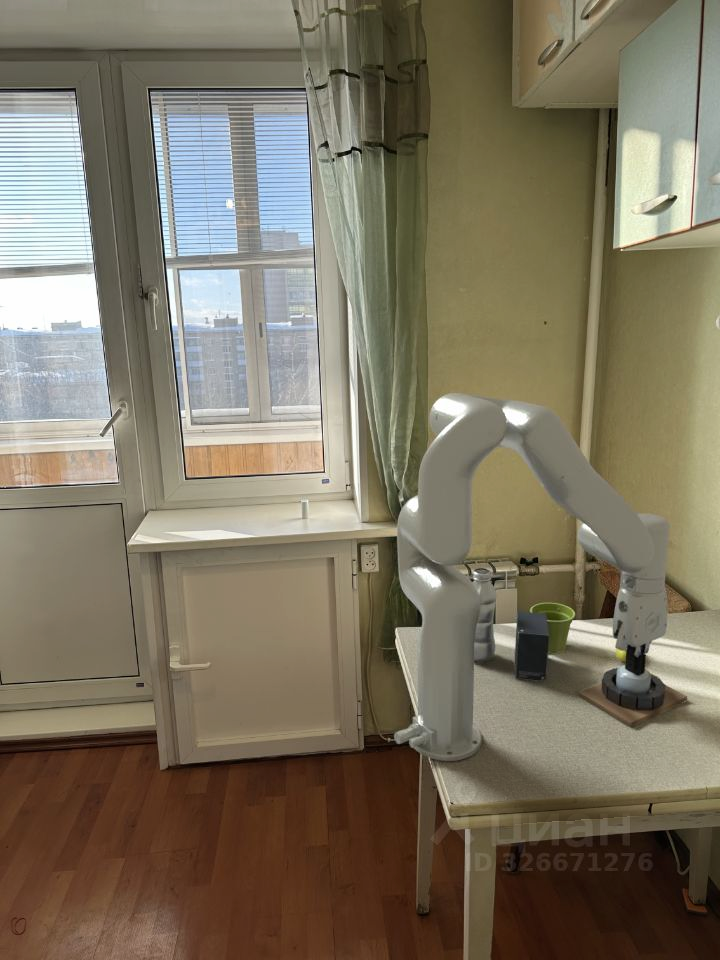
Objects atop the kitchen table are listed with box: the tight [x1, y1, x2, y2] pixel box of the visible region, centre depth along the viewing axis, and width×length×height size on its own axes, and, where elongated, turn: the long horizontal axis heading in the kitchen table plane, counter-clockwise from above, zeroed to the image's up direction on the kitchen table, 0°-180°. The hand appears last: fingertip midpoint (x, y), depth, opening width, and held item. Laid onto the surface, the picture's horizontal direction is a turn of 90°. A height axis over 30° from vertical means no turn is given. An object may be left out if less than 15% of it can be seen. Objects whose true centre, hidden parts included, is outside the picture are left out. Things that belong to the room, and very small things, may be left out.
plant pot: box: [529, 602, 576, 655], centre depth 150 cm, size 9×9×9 cm
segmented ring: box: [601, 667, 667, 711], centre depth 131 cm, size 11×11×2 cm
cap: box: [616, 664, 652, 694], centre depth 130 cm, size 6×6×5 cm
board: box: [578, 682, 688, 729], centre depth 131 cm, size 16×12×1 cm
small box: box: [514, 610, 549, 682], centre depth 142 cm, size 11×6×10 cm, turn 168°
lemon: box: [615, 648, 626, 662], centre depth 146 cm, size 4×8×4 cm, turn 140°
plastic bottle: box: [472, 567, 498, 662], centre depth 145 cm, size 6×7×20 cm
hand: (634, 671), depth 130 cm, fingers closed
